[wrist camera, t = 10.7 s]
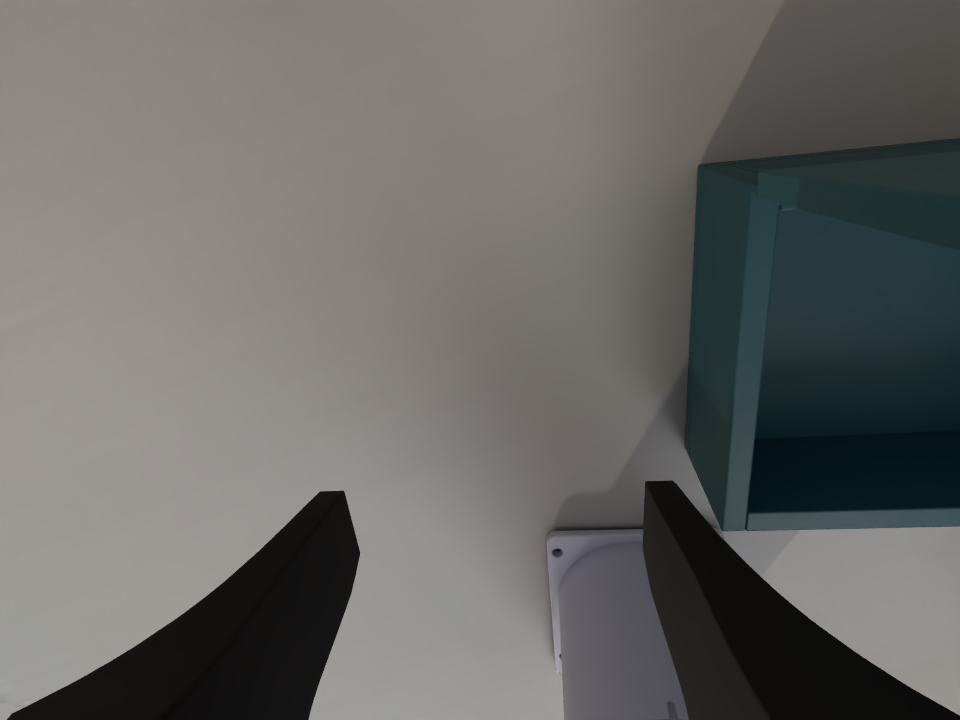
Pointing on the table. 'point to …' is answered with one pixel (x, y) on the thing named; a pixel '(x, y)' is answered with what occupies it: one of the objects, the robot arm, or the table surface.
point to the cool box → (820, 361)
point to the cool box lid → (877, 194)
